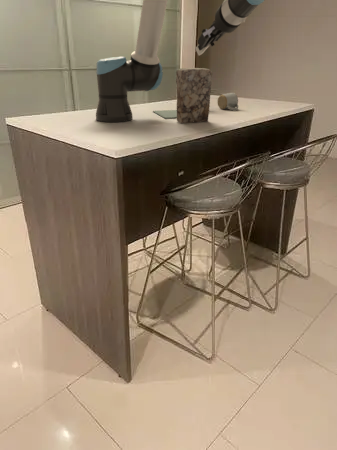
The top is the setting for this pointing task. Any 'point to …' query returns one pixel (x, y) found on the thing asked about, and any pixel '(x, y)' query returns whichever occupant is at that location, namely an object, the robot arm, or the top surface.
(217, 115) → the top surface
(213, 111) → the top surface
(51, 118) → the top surface
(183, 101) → the stone block
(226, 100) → the ceramic mug
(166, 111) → the rubber mat
